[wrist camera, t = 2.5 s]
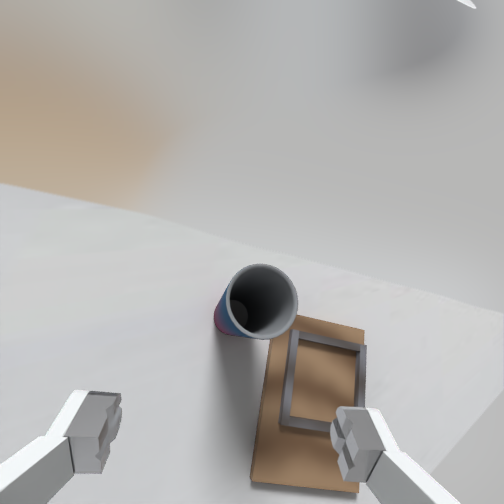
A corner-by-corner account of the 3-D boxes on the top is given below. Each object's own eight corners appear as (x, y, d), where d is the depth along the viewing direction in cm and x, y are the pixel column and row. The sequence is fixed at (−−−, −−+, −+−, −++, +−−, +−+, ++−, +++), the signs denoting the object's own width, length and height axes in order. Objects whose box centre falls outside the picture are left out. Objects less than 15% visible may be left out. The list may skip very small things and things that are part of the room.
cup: (197, 307, 38) (211, 285, 24) (239, 283, 41) (273, 251, 27) (223, 352, 37) (251, 355, 24) (264, 324, 40) (311, 313, 26)
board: (353, 488, 36) (363, 497, 34) (249, 476, 34) (254, 485, 32) (359, 330, 43) (368, 329, 41) (274, 311, 41) (279, 309, 39)
